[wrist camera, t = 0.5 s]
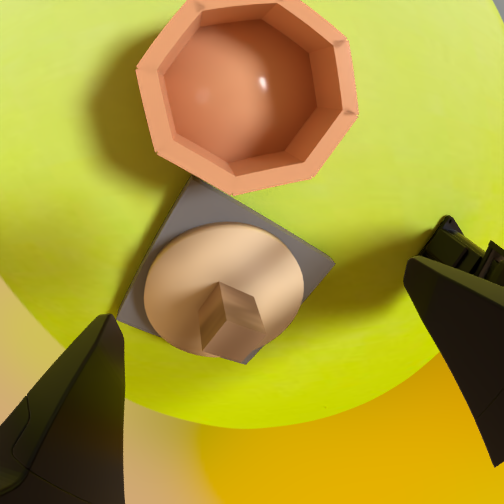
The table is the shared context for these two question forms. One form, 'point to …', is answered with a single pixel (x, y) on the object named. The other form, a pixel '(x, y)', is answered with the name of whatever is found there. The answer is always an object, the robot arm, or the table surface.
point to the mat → (210, 211)
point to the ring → (248, 92)
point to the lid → (223, 290)
